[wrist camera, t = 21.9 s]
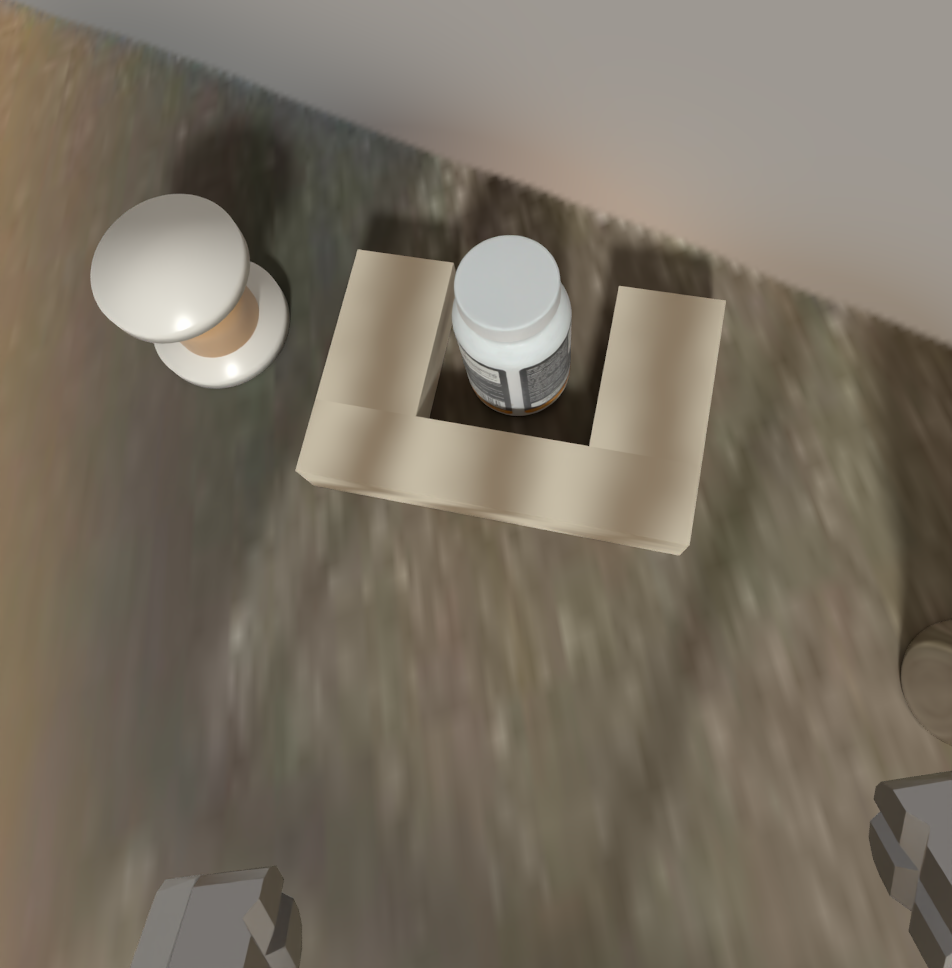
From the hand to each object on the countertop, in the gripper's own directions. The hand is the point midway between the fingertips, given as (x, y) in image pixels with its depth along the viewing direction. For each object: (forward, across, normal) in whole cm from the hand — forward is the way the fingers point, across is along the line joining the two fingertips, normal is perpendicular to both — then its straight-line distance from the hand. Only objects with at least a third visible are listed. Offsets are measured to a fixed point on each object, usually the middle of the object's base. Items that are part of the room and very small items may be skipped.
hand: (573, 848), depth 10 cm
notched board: (+31, -1, +8) cm, 32 cm away
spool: (+37, +16, +2) cm, 40 cm away
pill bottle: (+33, -1, +6) cm, 34 cm away
